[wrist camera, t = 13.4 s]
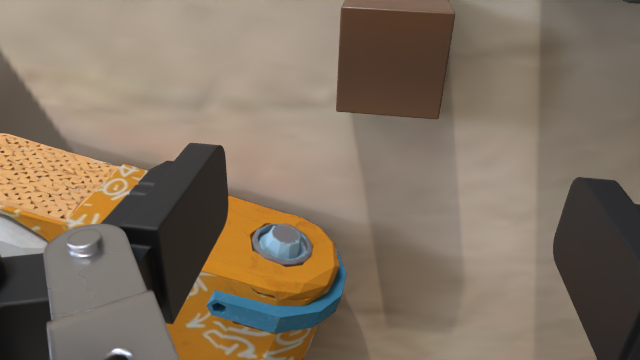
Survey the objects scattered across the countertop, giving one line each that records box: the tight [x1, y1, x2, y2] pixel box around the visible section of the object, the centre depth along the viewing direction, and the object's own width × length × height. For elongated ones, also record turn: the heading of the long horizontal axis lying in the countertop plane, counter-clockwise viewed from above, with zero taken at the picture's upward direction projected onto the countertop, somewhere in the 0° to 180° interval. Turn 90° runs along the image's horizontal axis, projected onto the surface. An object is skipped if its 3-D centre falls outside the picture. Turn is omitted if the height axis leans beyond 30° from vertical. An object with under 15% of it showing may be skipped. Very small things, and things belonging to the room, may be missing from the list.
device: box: [0, 134, 346, 360], centre depth 32 cm, size 23×8×30 cm
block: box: [336, 0, 455, 119], centre depth 23 cm, size 4×4×4 cm
